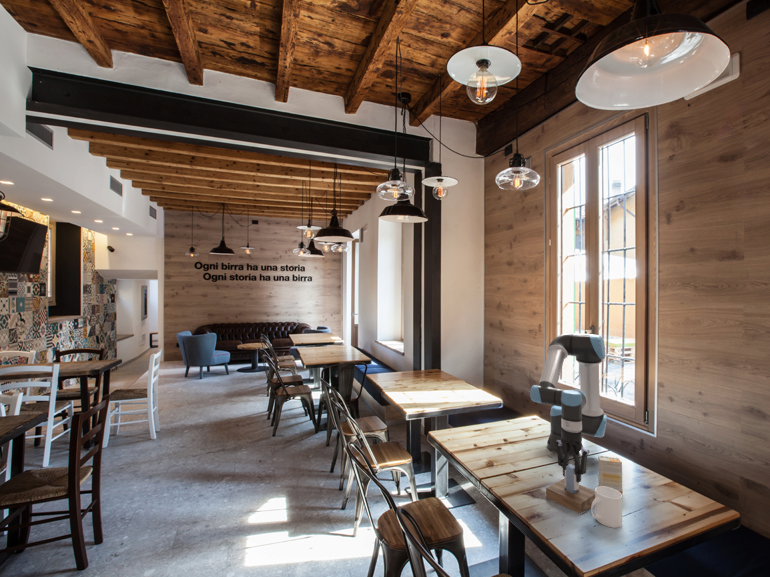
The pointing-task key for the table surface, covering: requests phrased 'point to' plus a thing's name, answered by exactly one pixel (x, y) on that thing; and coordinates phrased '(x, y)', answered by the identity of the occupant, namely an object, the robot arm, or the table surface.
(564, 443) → the robot arm
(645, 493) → the table surface
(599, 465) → the supplement box
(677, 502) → the table surface
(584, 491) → the socket block
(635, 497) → the table surface
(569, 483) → the peg
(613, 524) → the mug
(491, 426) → the table surface
